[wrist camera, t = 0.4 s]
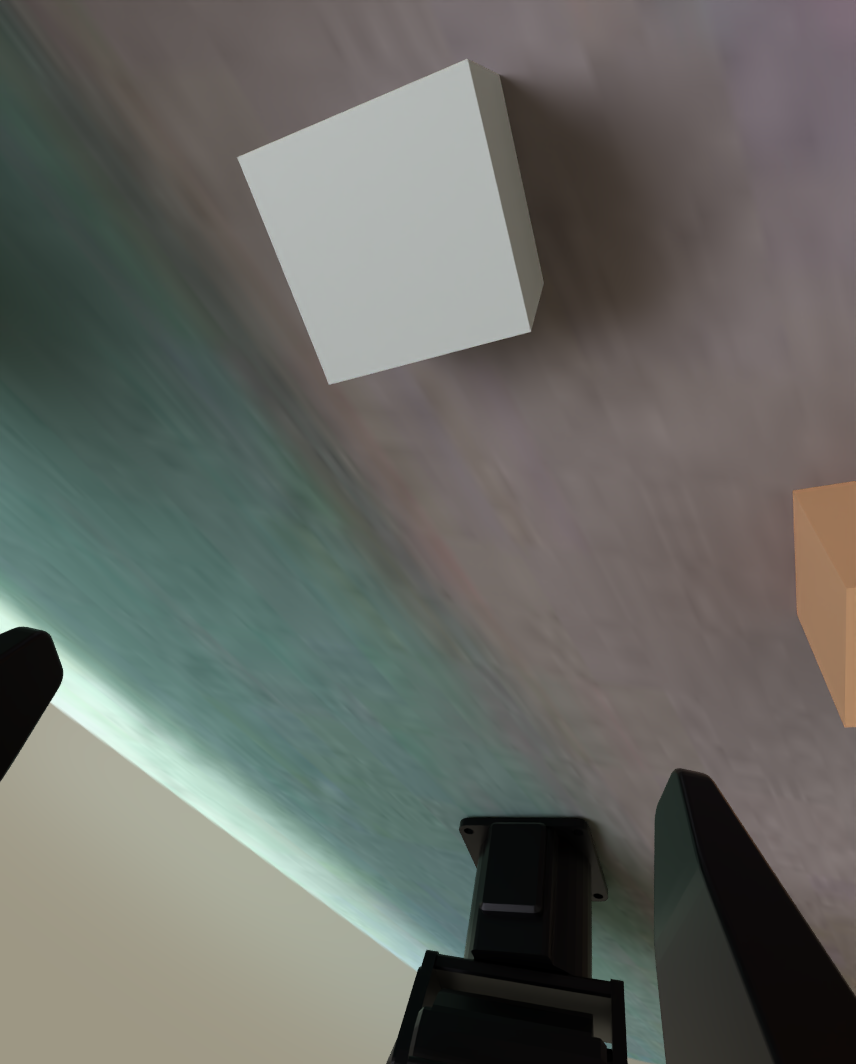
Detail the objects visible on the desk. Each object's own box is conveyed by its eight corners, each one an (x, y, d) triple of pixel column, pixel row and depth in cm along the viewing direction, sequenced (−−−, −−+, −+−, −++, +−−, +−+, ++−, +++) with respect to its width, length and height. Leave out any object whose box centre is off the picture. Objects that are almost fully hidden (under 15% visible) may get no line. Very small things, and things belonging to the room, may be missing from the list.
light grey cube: (544, 282, 18) (531, 332, 14) (384, 328, 19) (328, 384, 15) (499, 75, 15) (467, 58, 11) (321, 147, 17) (237, 157, 13)
